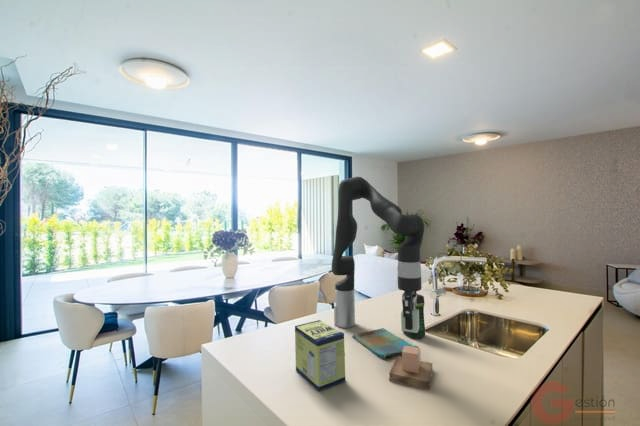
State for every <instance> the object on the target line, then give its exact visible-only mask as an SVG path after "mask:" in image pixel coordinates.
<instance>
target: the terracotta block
mask: <svg viewBox="0 0 640 426" xmlns="http://www.w3.org/2000/svg"><path fill="white" fill-rule="evenodd" d="M401 357H402V370H404V371H409V372H414V373H419V369H420V361H421V347H418V348H417V347H411V346H404V348H403V350H402V356H401Z"/></svg>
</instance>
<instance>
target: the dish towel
mask: <svg viewBox="0 0 640 426" xmlns="http://www.w3.org/2000/svg"><path fill="white" fill-rule="evenodd" d="M351 338H352V339H353V340H355V341H356V342H357V343H359V344H360V345H362V346H363V347H364V348H366V349H368V351H369V352H371V353H372V354H374V355H375V356H377V357H378V358H380V359H381V360H383V361H388V360H391V359H396V357H402V350H403V348H404V346H411V347H417V348H419V346H417V345H413V344H412V343H410V342H409V341H406V340H405V339H403V338H402V337H400V336H397V335H395V334H394V333H392V332H391V331H389V330H387V329H386V328H384V327H382V328H378V329H373V330H370V331H364V332H360V333H355V334H352V336H351Z"/></svg>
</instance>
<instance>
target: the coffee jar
mask: <svg viewBox="0 0 640 426" xmlns="http://www.w3.org/2000/svg"><path fill="white" fill-rule="evenodd" d="M404 293H405V291H404V292H403V293H402V294H401V295H402V296H401V302H402V301H403V295H404ZM416 303H417V305H416V309H419V330H418V333H414V332H407V331H402V334H404V335H405V336H407V337H409V338H411V339H422V338H425V336H426V327H425V326H426V325H425V324H426V323H425V314H424V313H425V312H424V308H425V303H426V302H425V297H424V295H422V294H420V293H417V299H416Z"/></svg>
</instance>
